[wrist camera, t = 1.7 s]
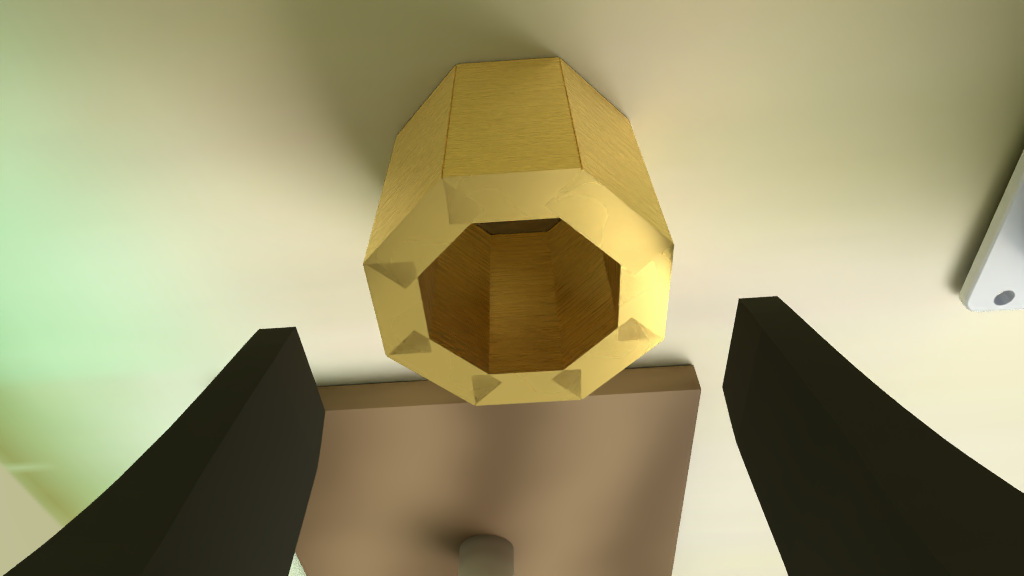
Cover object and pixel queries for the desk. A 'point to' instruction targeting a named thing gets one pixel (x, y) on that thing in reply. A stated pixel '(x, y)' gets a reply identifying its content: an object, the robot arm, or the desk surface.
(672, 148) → the desk surface
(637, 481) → the post stand
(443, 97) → the brass bushing
